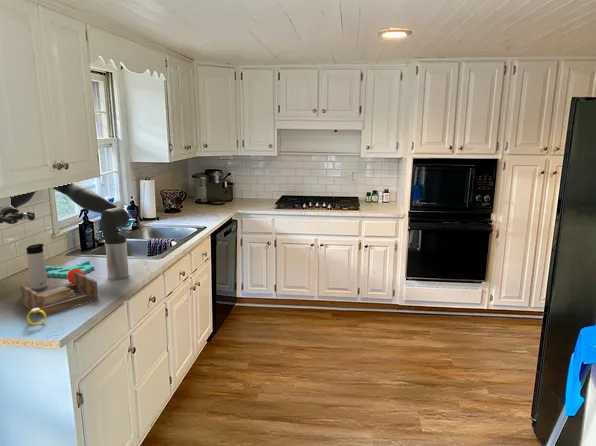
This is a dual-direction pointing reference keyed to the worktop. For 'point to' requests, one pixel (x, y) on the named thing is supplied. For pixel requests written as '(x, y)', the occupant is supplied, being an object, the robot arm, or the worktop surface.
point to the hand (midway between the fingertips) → (21, 219)
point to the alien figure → (64, 271)
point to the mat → (50, 287)
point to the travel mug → (36, 267)
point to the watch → (36, 311)
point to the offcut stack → (56, 295)
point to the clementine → (73, 274)
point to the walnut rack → (82, 285)
